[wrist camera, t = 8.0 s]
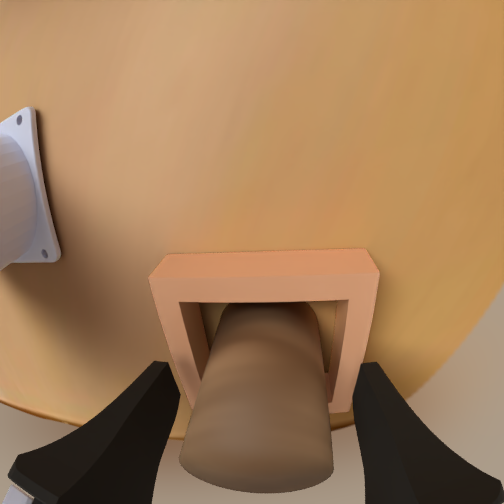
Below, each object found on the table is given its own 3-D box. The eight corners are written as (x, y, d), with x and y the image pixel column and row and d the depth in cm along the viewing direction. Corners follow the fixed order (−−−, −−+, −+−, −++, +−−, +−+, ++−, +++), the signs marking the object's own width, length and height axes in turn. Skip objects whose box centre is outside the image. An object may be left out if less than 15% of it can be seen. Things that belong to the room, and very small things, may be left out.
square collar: (200, 382, 15) (192, 410, 13) (167, 254, 12) (147, 277, 10) (344, 383, 14) (348, 411, 12) (364, 248, 11) (379, 272, 9)
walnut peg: (225, 362, 14) (197, 486, 8) (213, 289, 12) (158, 432, 6) (314, 363, 13) (322, 491, 7) (321, 287, 12) (347, 440, 5)
